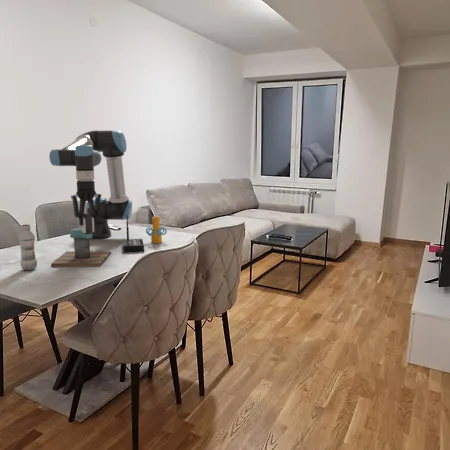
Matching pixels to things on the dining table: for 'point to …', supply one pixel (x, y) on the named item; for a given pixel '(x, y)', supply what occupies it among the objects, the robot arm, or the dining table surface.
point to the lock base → (83, 262)
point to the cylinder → (156, 230)
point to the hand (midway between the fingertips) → (88, 231)
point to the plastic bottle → (27, 248)
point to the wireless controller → (132, 243)
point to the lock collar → (78, 231)
